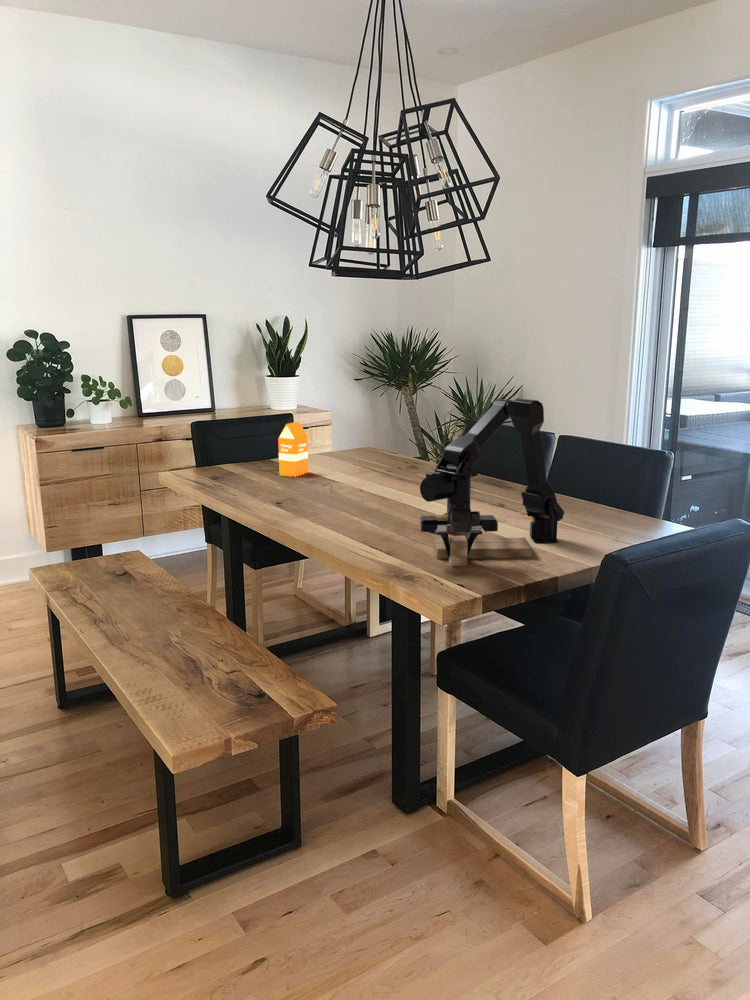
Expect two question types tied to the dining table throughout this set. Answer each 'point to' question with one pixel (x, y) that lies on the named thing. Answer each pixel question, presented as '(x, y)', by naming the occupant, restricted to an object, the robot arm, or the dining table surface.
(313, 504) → the dining table surface
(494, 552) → the plank
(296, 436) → the orange juice
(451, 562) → the block
